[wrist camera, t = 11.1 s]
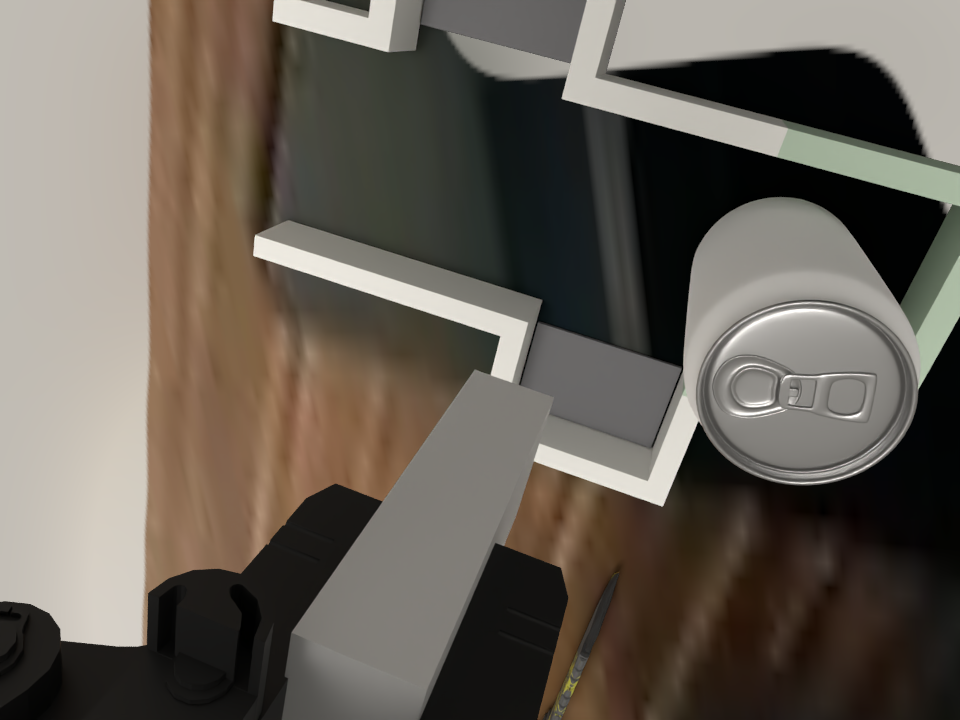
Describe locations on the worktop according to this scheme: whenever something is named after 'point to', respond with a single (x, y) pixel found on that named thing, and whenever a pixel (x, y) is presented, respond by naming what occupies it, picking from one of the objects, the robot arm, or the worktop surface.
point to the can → (796, 346)
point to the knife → (582, 653)
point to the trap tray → (555, 351)
